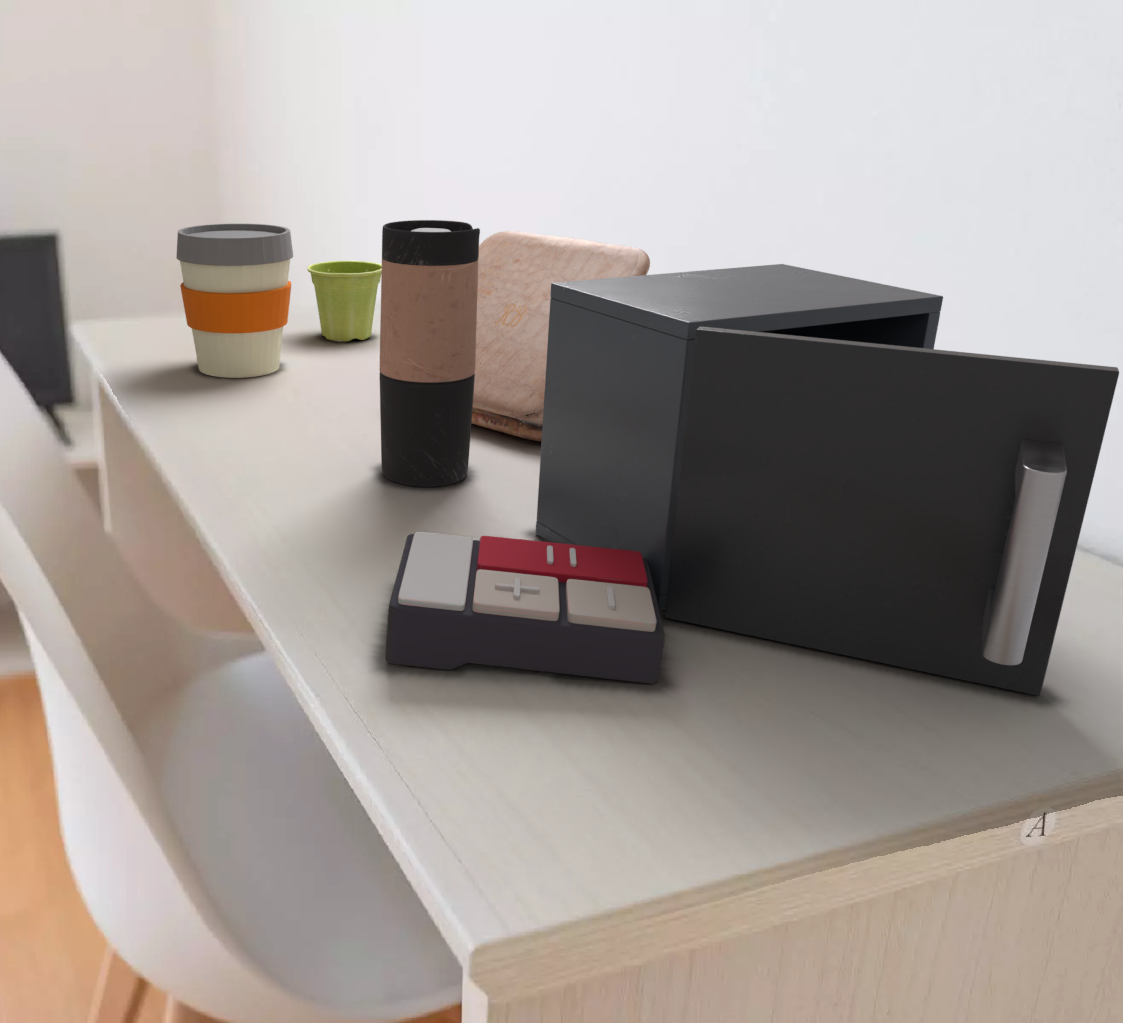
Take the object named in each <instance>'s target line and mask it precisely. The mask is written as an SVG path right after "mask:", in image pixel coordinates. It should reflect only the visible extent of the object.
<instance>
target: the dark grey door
mask: <svg viewBox="0 0 1123 1023" xmlns="http://www.w3.org/2000/svg"><path fill="white" fill-rule="evenodd" d="M1119 376H1120V371H1119V368H1118V366H1108V365H1098V364H1097V365H1096V364H1086V363H1078V362H1069V361H1068V362H1066V361H1056V360H1046V359H1037V358H1026V357H1017V356H1016V357H1015V356H1007V355H996V354H986V353H975V352H965V351H956V350H946V349H936V348H934V349H926V348H915V347H905V346H895V345H885V344H875V343H865V342H854V341H844V340H834V339H824V338H814V337H804V336H793V335H783V334H773V333H763V332H753V331H743V330H732V329H722V328H712V327H702V326H700V327H699V328H698V329H696V334H695V343H694V352H693V361H692V371H691V380H690V389H689V398H688V407H687V417H686V426H685V435H684V444H683V453H682V463H681V472H680V481H679V490H678V499H677V508H676V518H675V527H674V536H673V545H672V554H671V564H670V573H669V582H668V591H667V600H666V610H664V618H666V619H671V620H674V621H680V622H684V623H688V624H689V623H690V624H695V625H697V626H698V625H699V626H703V627H709V628H713V629H719V630H723V631H727V632H733V633H736V634H741V635H747V636H752V637H756V638H760V639H766V640H771V641H774V642H775V641H776V642H780V643H785V644H789V645H794V646H798V647H799V646H800V647H803V648H809V649H813V650H817V651H818V650H819V651H823V652H828V653H832V654H838V655H842V656H846V657H852V658H856V659H861V660H867V661H871V662H875V663H879V664H885V665H891V666H896V667H900V668H903V669H904V668H905V669H910V670H914V671H919V672H923V673H928V674H932V675H933V674H934V675H938V676H943V677H947V678H953V679H957V680H962V681H967V682H971V683H976V684H981V685H987V686H991V687H995V688H1001V689H1005V690H1010V691H1015V692H1019V693H1023V694H1029V695H1034V696H1038V697H1040V696H1041V694H1042V690H1043V687H1044V682H1045V678H1046V674H1047V669H1048V665H1049V661H1050V657H1051V654H1052V649H1053V645H1054V641H1055V637H1056V633H1057V628H1058V626H1059V620H1060V618H1061V612H1062V608H1063V605H1064V601H1065V596H1066V592H1067V588H1068V584H1069V580H1070V576H1071V571H1072V567H1073V565H1074V559H1075V555H1076V551H1077V547H1078V543H1079V539H1080V535H1081V530H1082V528H1083V523H1084V519H1085V515H1086V510H1087V506H1088V503H1089V499H1090V495H1091V490H1092V486H1093V482H1094V477H1095V474H1096V470H1097V465H1098V461H1099V457H1100V453H1101V449H1102V446H1103V442H1104V437H1105V434H1106V428H1107V425H1108V421H1109V417H1110V414H1111V413H1110V412H1111V410H1112V409H1111V408H1112V404H1113V400H1114V396H1115V393H1116V388H1117V384H1118V380H1119Z"/></svg>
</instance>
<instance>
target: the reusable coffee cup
mask: <svg viewBox="0 0 1123 1023" xmlns="http://www.w3.org/2000/svg"><path fill="white" fill-rule="evenodd" d="M175 258H176V260H178V261H179V264H180V270H181V275H182V276H181V277H182V282H181V283H180V292H181V298H182V303H183V309H184V315H185V319H186V320H185V321H186V325H187V327H189V328H190V329H191V332H192V333H191V334H192V339H193V344H194V349H195V355H196V361H197V367H198V371H199V372H200V373H202V374H205V375H207V376H212V377H218V378H229V379H230V378H233V379H241V378H254V377H261V376H266V375H270V374H272V373H275V372H276V371H278V370H279V369H280V363H281V353H282V352H281V351H282V342H283V334H284V333H283V332H284V327H285V326H286V325H287V324H288V322H289V313H290V301H291V292H292V282H291V281H290V280H289V275H290V274H289V273H290V266H291V259H293V258H294V250H293V242H292V233H291V229H290V228H288V227H285V226H281V225H275V224H267V223H265V224H263V223H214V224H202V225H200V224H199V225H193V226H188V227H183V228H180V229H178V230H177V238H176V257H175Z"/></svg>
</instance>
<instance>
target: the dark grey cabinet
mask: <svg viewBox="0 0 1123 1023" xmlns="http://www.w3.org/2000/svg"><path fill="white" fill-rule="evenodd" d="M550 297H551V299H550V313H549V329H548V345H547V361H546V377H545V393H544V409H543V425H542V441H540V442H541V444H540V446H541V447H540V459H539V474H538V490H537V492H538V494H537V506H536V520H535V535H537V536H538V537H540V538H542V539H543V540H545V542H552V543H562V544H572V545H581V546H591V547H601V548H610V549H620V550H630V551H637V552H640V553H641V554H642V557H643V558H645V559H646V560H647V561H648V564H649V569H650V573H651V577H652V582H653V586H654V590H655V594H656V599H657V603H658V607H659V612H662V611H665V610H666V600H667V591H668V582H669V573H670V564H671V554H672V545H673V536H674V527H675V518H676V508H677V499H678V490H679V481H680V472H681V463H682V453H683V444H684V435H685V426H686V417H687V407H688V398H689V389H690V380H691V371H692V361H693V352H694V343H695V334H696V329H698V328H699V327H700V326H702V327H712V328H722V329H732V330H743V331H753V332H763V333H773V334H783V335H793V336H804V337H814V338H824V339H834V340H844V341H854V342H865V343H875V344H885V345H895V346H905V347H915V348H926V349H935V344H936V339H937V334H938V327H939V323H940V318H941V312H942V306H943V301H944V296H943V295H939V294H935V293H934V294H933V293H929V292H924V291H919V290H914V289H910V288H904V287H900V286H899V287H898V286H894V285H889V284H884V283H879V282H875V281H869V280H864V279H859V278H854V277H849V276H844V275H841V274H835V273H831V272H830V273H829V272H824V271H819V270H814V269H810V268H805V267H801V266H800V267H799V266H795V265H790V264H785V263H778V264H767V265H754V266H753V265H752V266H741V267H729V268H728V267H727V268H718V269H717V268H716V269H715V268H714V269H705V270H704V269H703V270H695V271H694V270H692V271H691V270H690V271H681V272H668V273H658V274H657V273H655V274H647V275H642V276H629V277H617V278H605V279H593V280H581V281H569V282H556V283H551V294H550Z"/></svg>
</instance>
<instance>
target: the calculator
mask: <svg viewBox="0 0 1123 1023" xmlns="http://www.w3.org/2000/svg"><path fill="white" fill-rule="evenodd" d="M402 550H403V551H402V554H401V558H400V562H399V566H398V569H397V573H396V577H395V581H394V584H393V588H392V593H391V596H390V599H389V603H388V610H387V611H388V612H387V626H386V636H385V637H386V639H385V640H386V641H385V652H384V660H385V661H386V662H387V663H389V664H394V665H402V666H410V667H420V668H428V669H435V670H447V671H451V670H454V669H456V668H458V667H459V668H460V667H461V666H464V665H466V664H474V665H475V664H476V665H484V666H493V667H500V668H501V667H502V668H512V669H520V670H528V671H537V672H544V673H545V672H546V673H554V674H562V675H571V676H580V677H588V678H597V679H604V680H605V679H606V680H615V681H623V682H631V683H639V684H650V685H651V684H655V683H657V682H658V679H659V675H660V668H661V662H662V657H663V652H664V646H665V645H664V644H665V641H666V640H665V639H666V633H665V630H664V629H665V628H664V625H663V621H662V617H661V613H660V612H661V611H659V607H658V603H657V599H656V594H655V590H654V586H653V582H652V577H651V573H650V569H649V564H648V561H647V560H646V559H645V558H643V557H642V554H641V553H640V552H637V551H630V550H620V549H610V548H601V547H591V546H581V545H572V544H562V543H552V542H548V541H541V540H533V539H523V538H522V539H521V538H512V537H511V538H510V537H502V536H494V535H481V536H480V538H479V539H474V538H473V537H472V536H465V535H457V534H448V533H447V534H445V533H436V532H426V531H416V532H415V533H410V534H408V535H407V537H406V540H405V544H404V547H403V549H402Z"/></svg>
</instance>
